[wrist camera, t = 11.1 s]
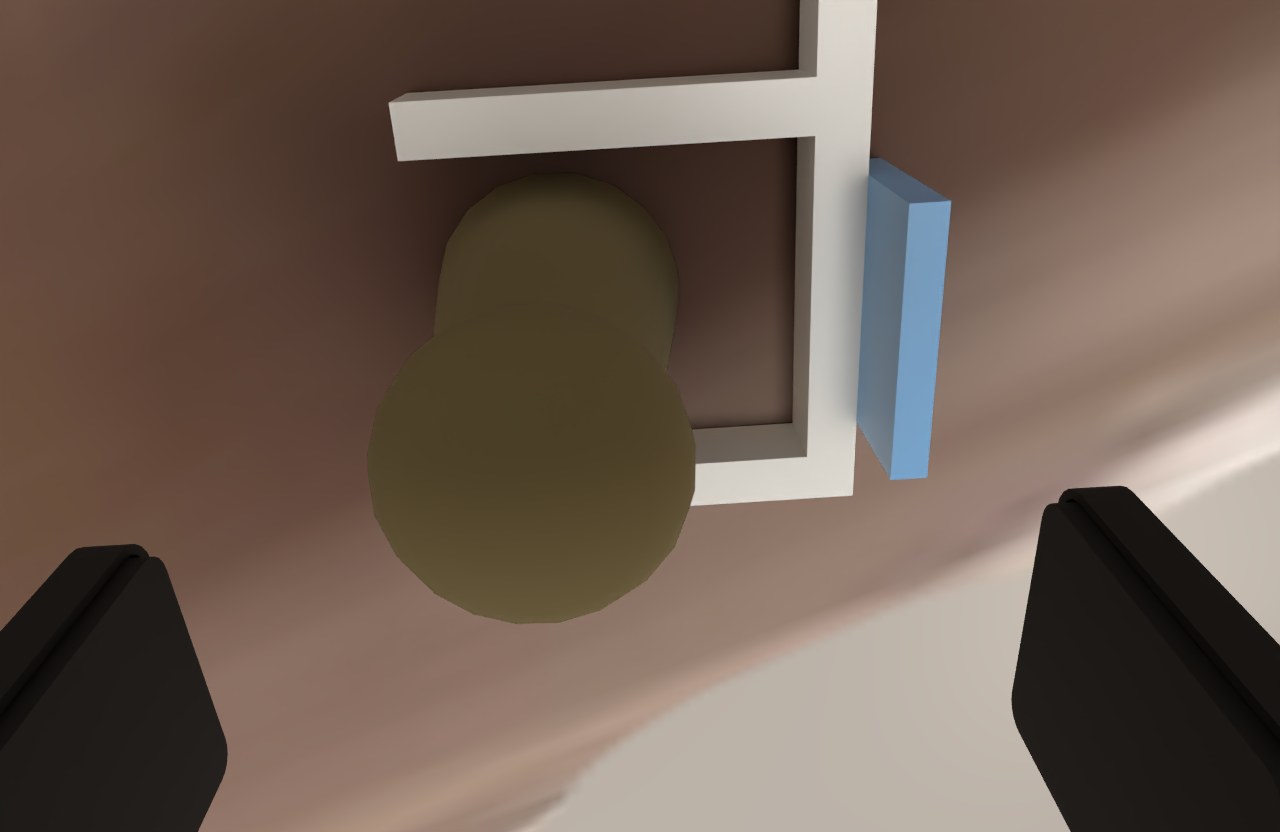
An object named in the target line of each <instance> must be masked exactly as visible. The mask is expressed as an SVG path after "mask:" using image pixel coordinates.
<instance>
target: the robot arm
mask: <svg viewBox="0 0 1280 832" xmlns="http://www.w3.org/2000/svg"><path fill="white" fill-rule="evenodd" d="M1012 710H1013V716H1014V720H1015V723H1016V726H1017V729H1018V731H1019V733H1020V735H1021V737H1022V739H1023V741H1024V743H1025V745H1026V747H1027V748H1028V750H1029V752H1030V754H1031V756H1032V758H1033V760H1034V762H1035V764H1036V765H1037V768H1038V769H1039V771H1040V773H1041V775H1042V777H1043V779H1044V781H1045V783H1046V785H1047V787H1048V789H1049V791H1050V793H1051V795H1052V797H1053V798H1054V800H1055V802H1056V804H1057V806H1058V808H1059V810H1060V812H1061V814H1062V816H1063V818H1064V820H1065V821H1066V823H1067V825H1068V827H1069V829H1070V831H1071V832H1280V645H1279V644H1278V643H1277V642H1276V641H1275V640H1274V639H1273V638H1272V637H1271V636H1270V635H1269V634H1268V632H1267V631H1265V630H1264V628H1263V627H1262V626H1261V625H1260V624H1259V623H1258V622H1257V621H1256V620H1255V619H1254V618H1253V617H1252V616H1251V615H1250V614H1249V613H1248V612H1247V611H1246V610H1245V609H1244V608H1243V606H1242V605H1241V604H1239V602H1238V601H1237V600H1236V599H1235V598H1234V597H1233V596H1232V595H1231V594H1230V593H1229V592H1228V591H1227V590H1226V589H1225V588H1224V587H1223V586H1222V585H1221V583H1220V582H1219V581H1218V580H1217V579H1216V578H1215V577H1214V576H1213V575H1212V574H1211V573H1210V572H1209V571H1208V570H1207V569H1206V568H1205V567H1204V566H1203V565H1202V564H1201V563H1200V562H1199V561H1198V560H1197V559H1196V557H1195V556H1194V555H1193V554H1192V553H1191V552H1190V551H1189V550H1188V549H1187V548H1186V547H1185V546H1184V545H1183V544H1182V543H1181V542H1180V541H1179V540H1178V539H1177V538H1176V537H1175V535H1173V533H1171V531H1170V530H1169V529H1168V528H1167V527H1166V526H1165V525H1164V524H1163V523H1162V522H1161V521H1160V520H1159V519H1158V518H1157V517H1156V516H1155V515H1154V514H1153V513H1152V511H1151V510H1150V509H1149V508H1148V507H1147V506H1146V505H1145V504H1144V503H1143V502H1142V501H1141V500H1140V499H1139V498H1138V497H1137V496H1136V495H1135V494H1134V493H1133V492H1132V491H1131V490H1130V489H1128V488H1127V487H1124V486H1108V487H1091V488H1074V489H1068V490H1066V491H1064V492H1063V494H1062V495H1061V497H1060V498H1059V502H1058V503H1052V504H1049V505H1047V506H1046V508H1045V510H1044V512H1043V516H1042V521H1041V527H1040V533H1039V538H1038V544H1037V550H1036V556H1035V562H1034V568H1033V573H1032V579H1031V585H1030V591H1029V597H1028V603H1027V609H1026V614H1025V620H1024V626H1023V632H1022V638H1021V643H1020V649H1019V655H1018V661H1017V667H1016V673H1015V679H1014V684H1013V690H1012ZM227 755H228V753H227V744H226V739H225V736H224V733H223V731H222V728H221V725H220V722H219V719H218V716H217V713H216V710H215V708H214V705H213V702H212V699H211V696H210V693H209V690H208V687H207V685H206V682H205V679H204V676H203V673H202V670H201V667H200V664H199V662H198V659H197V656H196V653H195V650H194V647H193V644H192V641H191V639H190V636H189V633H188V630H187V627H186V624H185V621H184V618H183V616H182V613H181V610H180V607H179V604H178V601H177V598H176V595H175V593H174V590H173V587H172V584H171V581H170V578H169V575H168V572H167V570H166V567H165V565H164V563H163V562H162V561H161V560H160V559H159V558H157V557H149V555H148V553H147V552H146V551H145V550H144V549H143V548H142V547H141V546H139V545H136V544H127V545H110V546H94V547H82V548H78V549H76V550H74V551H73V552H72V553H71V554H69V555H68V557H67V558H66V559H65V560H64V561H63V562H62V563H61V564H60V565H59V567H58V568H57V569H56V570H55V571H54V572H53V573H52V574H51V576H50V577H49V578H48V579H47V580H46V581H45V582H44V583H43V584H42V586H41V587H40V588H39V589H38V590H37V591H36V592H35V593H34V595H33V596H32V597H31V598H30V599H29V600H28V601H27V602H26V603H25V605H24V606H23V607H22V608H21V609H20V610H19V611H18V612H17V614H16V615H15V616H14V617H13V618H12V619H11V620H10V621H9V622H8V624H7V625H6V626H5V627H4V628H3V629H2V630H1V631H0V832H198V830H199V828H200V826H201V824H202V822H203V819H204V817H205V815H206V813H207V811H208V809H209V807H210V804H211V802H212V800H213V798H214V796H215V794H216V792H217V790H218V787H219V785H220V783H221V781H222V779H223V776H224V773H225V770H226V765H227Z"/></svg>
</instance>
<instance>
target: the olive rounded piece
mask: <svg viewBox="0 0 1280 832" xmlns="http://www.w3.org/2000/svg"><path fill="white" fill-rule="evenodd" d="M677 313H678V270H677V267H676V264H675V261H674V258H673V255H672V252H671V249H670V246H669V243H668V240H667V237H666V236H665V235H664V233H663V232H662V230H661V229H660V228H659V226H658V225H657V224H656V222H655V221H654V220H653V218H652V217H651V216H650V214H649V213H648V212H647V210H646V209H645V208H644V207H643V206H642V205H641V204H639V203H638V202H636V201H635V200H633V199H632V198H631V197H629V196H628V195H626V194H625V193H623V192H622V191H621V190H619V189H618V188H616V187H615V186H613V185H612V184H609V183H606V182H603V181H599V180H596V179H593V178H590V177H586V176H583V175H580V174H577V173H534V174H531V175H528V176H526V177H523V178H520V179H517V180H514V181H511V182H509V183H506V184H503V185H500V186H497V187H496V188H495V189H494V190H492V191H491V192H490V193H489V194H487V195H486V196H485V197H484V198H482V199H481V200H480V201H479V202H477V203H476V204H475V205H474V206H472V207H471V208H470V209H468V210H467V212H466V213H465V215H464V216H463V218H462V220H461V221H460V223H459V224H458V226H457V228H456V229H455V231H454V232H453V234H452V236H451V237H450V239H449V240H448V242H447V246H446V250H445V255H444V259H443V263H442V268H441V272H440V277H439V284H438V294H437V303H436V312H435V322H434V331H433V338H431V339H430V340H429V341H427V342H426V343H425V344H424V345H422V346H421V347H420V348H418V349H417V350H416V351H414V352H413V353H412V354H411V355H410V357H409V358H408V360H407V361H406V363H405V364H404V366H403V368H402V369H401V371H400V372H399V374H398V375H397V377H396V378H395V380H394V382H393V383H392V385H391V386H390V388H389V389H388V391H387V392H386V394H385V396H384V397H383V399H382V401H381V403H380V404H379V406H378V408H377V411H376V416H375V420H374V425H373V430H372V435H371V439H370V444H369V449H368V453H367V457H368V476H369V482H370V489H371V495H372V502H373V508H374V514H375V517H376V519H377V521H378V523H379V525H380V526H381V528H382V530H383V532H384V534H385V536H386V537H387V539H388V541H389V543H390V545H391V547H392V549H393V550H394V552H395V554H396V556H397V557H398V558H399V559H400V560H401V561H402V562H403V563H404V564H405V565H406V566H407V567H408V568H409V569H410V570H411V571H412V572H413V573H414V574H415V575H416V576H417V577H418V578H419V579H420V580H421V581H422V582H423V583H424V584H426V585H427V586H428V587H429V588H430V589H431V590H432V591H433V592H434V593H435V594H436V595H438V596H440V597H442V598H444V599H446V600H448V601H450V602H451V603H453V604H455V605H457V606H459V607H461V608H463V609H465V610H467V611H469V612H470V613H472V614H475V615H479V616H484V617H488V618H493V619H497V620H501V621H506V622H510V623H515V624H527V623H558V622H563V621H566V620H569V619H573V618H576V617H579V616H583V615H586V614H589V613H593V612H596V611H599V610H601V609H603V608H604V607H606V606H608V605H609V604H611V603H612V602H614V601H615V600H617V599H618V598H620V597H622V596H623V595H625V594H626V593H628V592H629V591H631V590H632V589H634V588H636V587H637V586H639V585H640V584H642V583H643V582H645V581H646V580H647V579H648V578H649V577H650V576H651V574H652V573H653V572H654V571H655V570H656V569H657V567H658V566H659V565H660V564H661V563H662V561H663V560H664V559H665V558H666V557H667V555H668V554H669V553H670V552H671V551H672V549H673V548H674V547H675V544H676V542H677V539H678V537H679V534H680V531H681V529H682V526H683V523H684V521H685V518H686V516H687V513H688V510H689V508H690V505H691V502H692V499H693V495H694V492H695V467H696V444H695V439H694V435H693V431H692V428H691V425H690V422H689V419H688V416H687V413H686V410H685V408H684V405H683V402H682V399H681V396H680V393H679V391H678V388H677V385H676V384H675V383H674V382H673V380H672V379H671V378H670V377H669V375H668V374H667V373H666V372H667V367H668V361H669V356H670V351H671V345H672V340H673V334H674V329H675V324H676V318H677Z"/></svg>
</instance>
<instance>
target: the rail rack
mask: <svg viewBox="0 0 1280 832" xmlns="http://www.w3.org/2000/svg"><path fill="white" fill-rule="evenodd" d="M876 16H877V0H800V21H799V70H783V71H766V72H750V73H733V74H716V75H700V76H683V77H666V78H649V79H633V80H616V81H599V82H583V83H566V84H549V85H533V86H516V87H499V88H482V89H466V90H449V91H432V92H416V93H406V94H404V95H402V96H400V97H398V98H397V99H395V100H393V101H391V102H389V109H390V115H391V121H392V128H393V134H394V140H395V146H396V153H397V159H398V161H411V160H427V159H444V158H460V157H477V156H493V155H510V154H526V153H543V152H559V151H576V150H592V149H609V148H625V147H642V146H658V145H675V144H691V143H708V142H724V141H741V140H757V139H774V138H790V137H797V192H796V249H795V306H794V363H793V420H792V423H785V424H769V425H754V426H738V427H722V428H706V429H692V431H693V435H694V439H695V444H696V467H695V492H694V495H693V499H692V502H691V505H690V506H696V505H712V504H727V503H743V502H758V501H774V500H789V499H805V498H820V497H836V496H852V495H853V479H854V459H855V439H856V422H857V423H858V425H859V427H860V429H861V430H862V432H863V434H864V435H865V437H866V439H867V441H868V442H869V444H870V446H871V447H872V449H873V451H874V453H875V454H876V456H877V458H878V459H879V461H880V463H881V465H882V466H883V468H884V470H885V471H886V473H887V475H888V477H889V478H890V480H897V479H912V478H927V472H928V461H929V449H930V438H931V426H932V415H933V404H934V392H935V381H936V369H937V358H938V346H939V335H940V324H941V312H942V301H943V289H944V278H945V267H946V255H947V244H948V232H949V221H950V209H951V201H950V200H949V199H947V198H945V197H944V196H942V195H940V194H939V193H937V192H936V191H934V190H932V189H931V188H929V187H927V186H926V185H924V184H922V183H921V182H919V181H917V180H916V179H914V178H913V177H911V176H909V175H908V174H906V173H904V172H903V171H901V170H899V169H898V168H896V167H894V166H893V165H891V164H890V163H888V162H886V161H885V160H883V159H881V158H869V157H870V136H871V116H872V96H873V76H874V56H875V36H876Z"/></svg>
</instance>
